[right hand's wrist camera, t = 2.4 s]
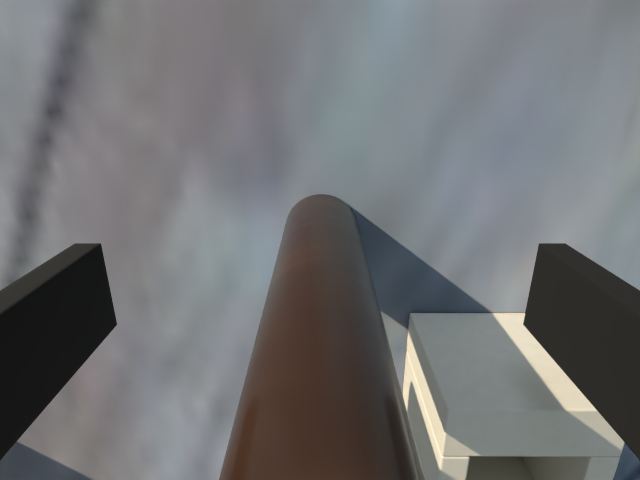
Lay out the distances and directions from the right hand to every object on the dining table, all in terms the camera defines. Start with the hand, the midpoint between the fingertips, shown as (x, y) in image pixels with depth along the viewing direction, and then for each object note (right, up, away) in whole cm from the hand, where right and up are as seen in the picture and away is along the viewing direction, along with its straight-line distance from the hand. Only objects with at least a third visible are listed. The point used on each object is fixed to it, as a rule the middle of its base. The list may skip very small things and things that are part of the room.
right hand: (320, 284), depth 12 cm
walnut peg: (0, +2, +5) cm, 5 cm away
